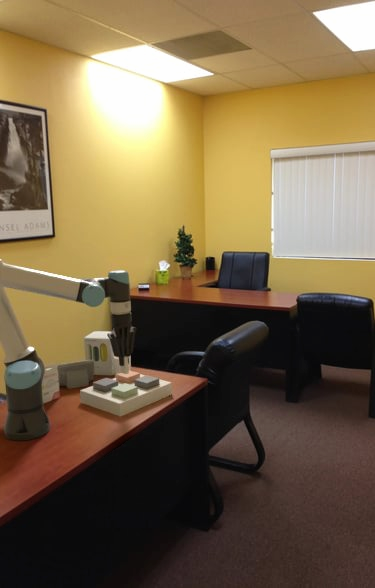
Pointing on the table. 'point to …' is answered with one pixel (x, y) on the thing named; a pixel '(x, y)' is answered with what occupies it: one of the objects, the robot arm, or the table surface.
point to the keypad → (126, 405)
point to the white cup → (117, 367)
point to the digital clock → (76, 373)
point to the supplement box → (99, 352)
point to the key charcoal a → (105, 384)
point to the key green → (124, 390)
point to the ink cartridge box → (50, 383)
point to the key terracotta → (127, 377)
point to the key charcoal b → (146, 382)
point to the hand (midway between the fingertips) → (124, 373)
